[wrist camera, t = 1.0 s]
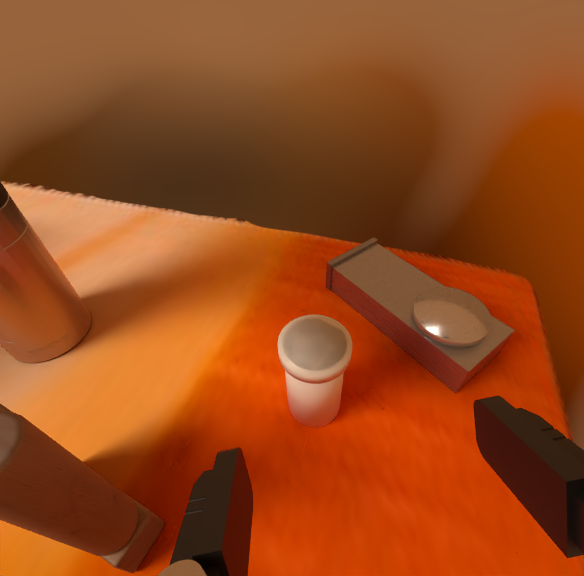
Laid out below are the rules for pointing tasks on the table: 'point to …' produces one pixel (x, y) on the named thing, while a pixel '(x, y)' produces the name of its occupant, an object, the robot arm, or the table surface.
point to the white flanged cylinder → (314, 367)
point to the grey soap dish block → (419, 312)
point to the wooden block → (68, 498)
